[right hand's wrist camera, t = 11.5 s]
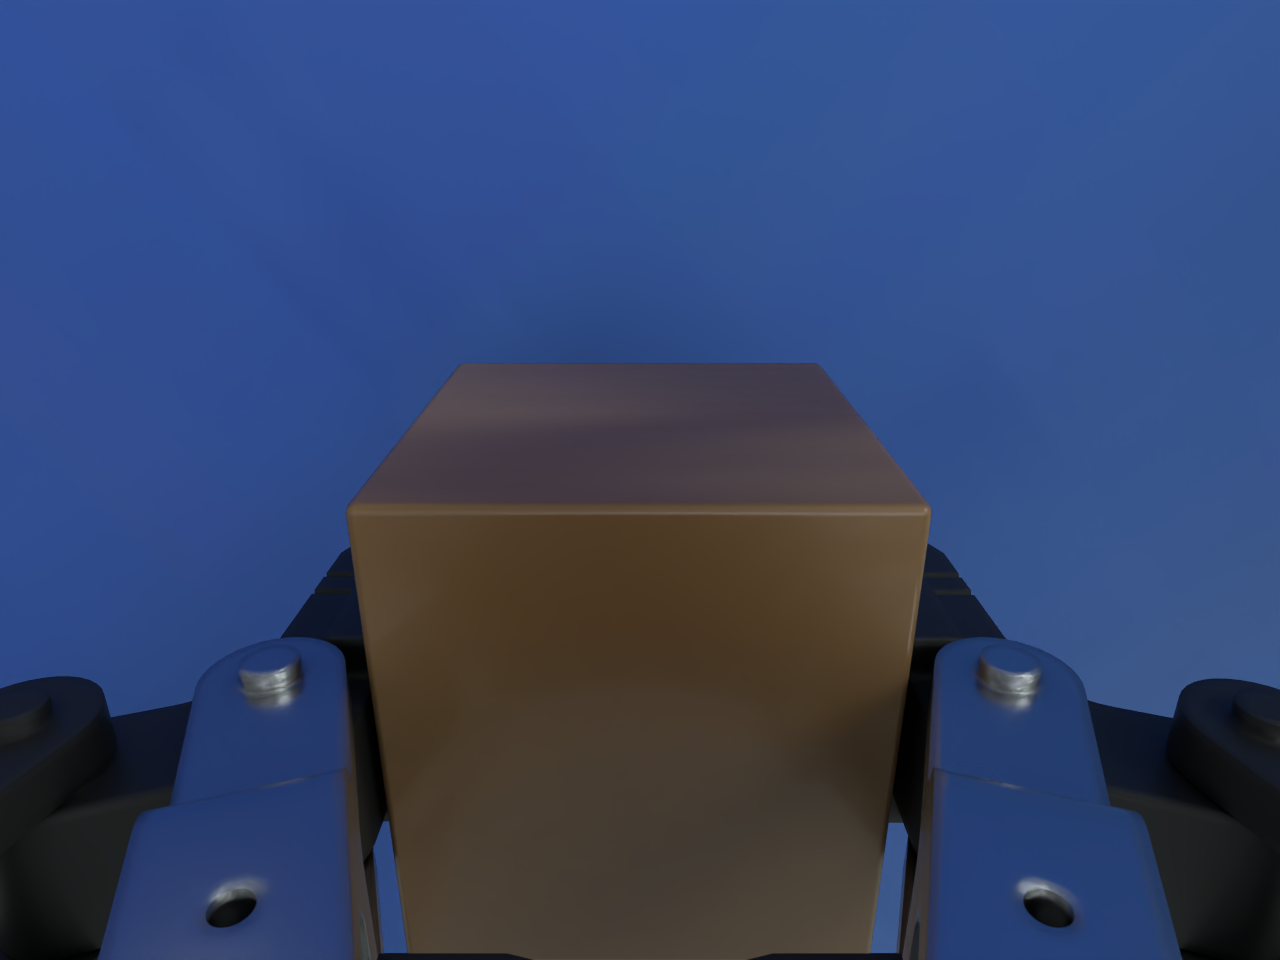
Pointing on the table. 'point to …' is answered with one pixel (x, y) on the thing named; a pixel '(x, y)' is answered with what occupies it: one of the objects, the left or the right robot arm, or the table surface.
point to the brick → (638, 659)
